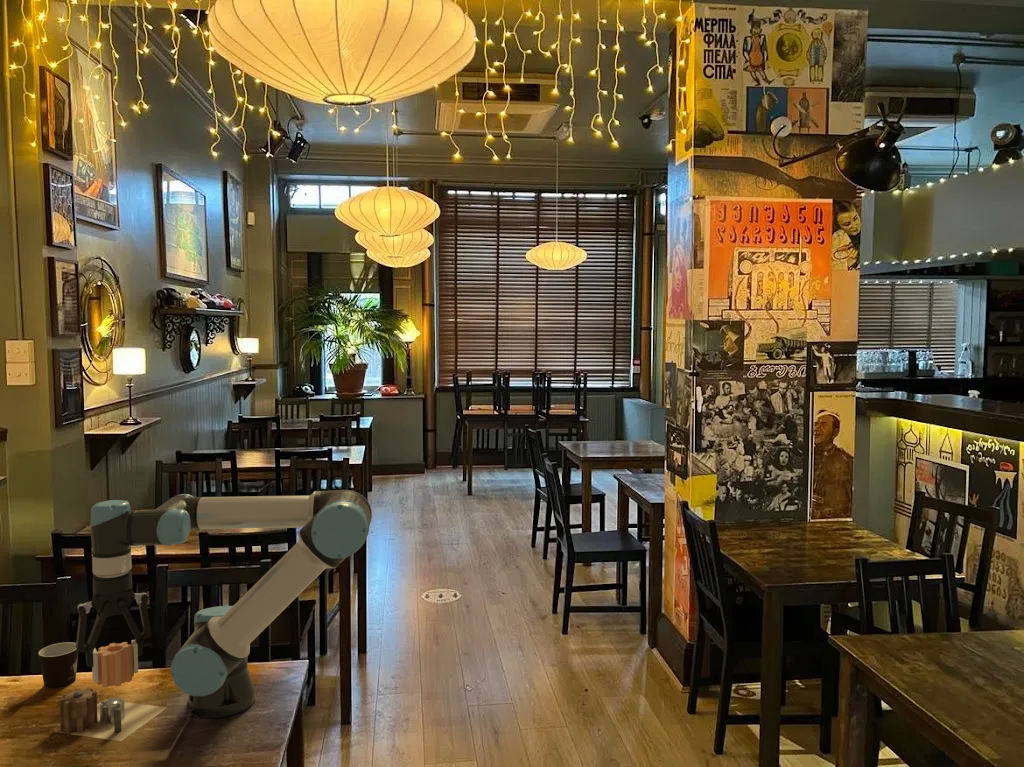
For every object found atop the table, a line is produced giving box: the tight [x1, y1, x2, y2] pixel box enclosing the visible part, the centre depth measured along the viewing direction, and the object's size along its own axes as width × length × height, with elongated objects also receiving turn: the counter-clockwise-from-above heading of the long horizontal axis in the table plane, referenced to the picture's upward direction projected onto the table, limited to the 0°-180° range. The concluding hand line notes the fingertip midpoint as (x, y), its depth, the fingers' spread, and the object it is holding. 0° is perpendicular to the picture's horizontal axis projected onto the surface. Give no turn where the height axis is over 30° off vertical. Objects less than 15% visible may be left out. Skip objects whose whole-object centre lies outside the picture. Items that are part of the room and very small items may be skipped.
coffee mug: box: [38, 641, 79, 690], centre depth 190 cm, size 12×9×10 cm
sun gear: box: [100, 696, 125, 725], centre depth 171 cm, size 5×5×4 cm
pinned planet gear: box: [59, 687, 98, 735], centre depth 168 cm, size 7×7×8 cm
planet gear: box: [96, 641, 135, 688], centre depth 165 cm, size 7×7×7 cm
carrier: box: [54, 701, 168, 742], centre depth 171 cm, size 17×15×6 cm
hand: (115, 675), depth 165 cm, fingers closed on planet gear, 7 cm apart
